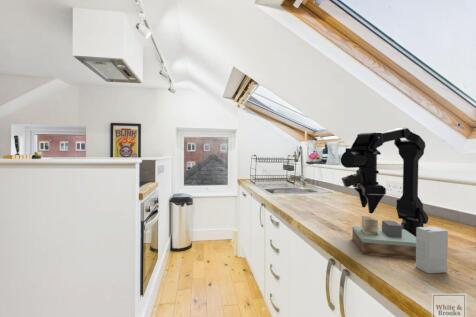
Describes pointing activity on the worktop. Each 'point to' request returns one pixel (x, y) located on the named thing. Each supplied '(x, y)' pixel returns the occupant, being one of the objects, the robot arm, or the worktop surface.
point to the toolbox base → (384, 249)
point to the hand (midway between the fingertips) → (367, 210)
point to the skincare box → (431, 249)
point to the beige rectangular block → (369, 225)
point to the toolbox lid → (388, 235)
